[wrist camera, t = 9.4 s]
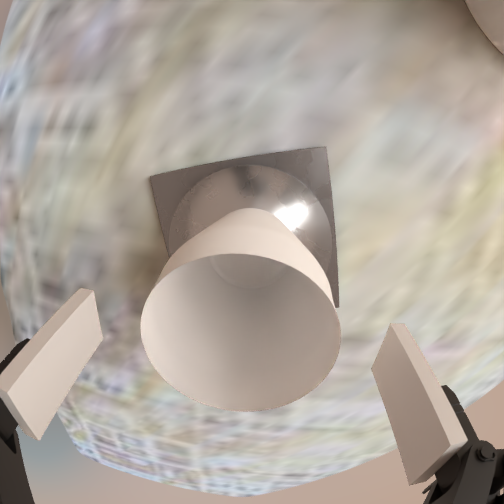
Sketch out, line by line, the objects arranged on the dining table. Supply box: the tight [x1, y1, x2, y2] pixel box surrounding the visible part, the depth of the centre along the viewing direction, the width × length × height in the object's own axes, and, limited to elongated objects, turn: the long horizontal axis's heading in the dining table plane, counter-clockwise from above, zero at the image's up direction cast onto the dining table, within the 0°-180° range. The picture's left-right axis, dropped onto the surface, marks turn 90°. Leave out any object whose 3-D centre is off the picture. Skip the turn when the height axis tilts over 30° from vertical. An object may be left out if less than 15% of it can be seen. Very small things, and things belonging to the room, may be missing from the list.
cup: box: [141, 208, 341, 412], centre depth 18 cm, size 9×9×12 cm
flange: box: [150, 147, 339, 308], centre depth 24 cm, size 14×14×2 cm
